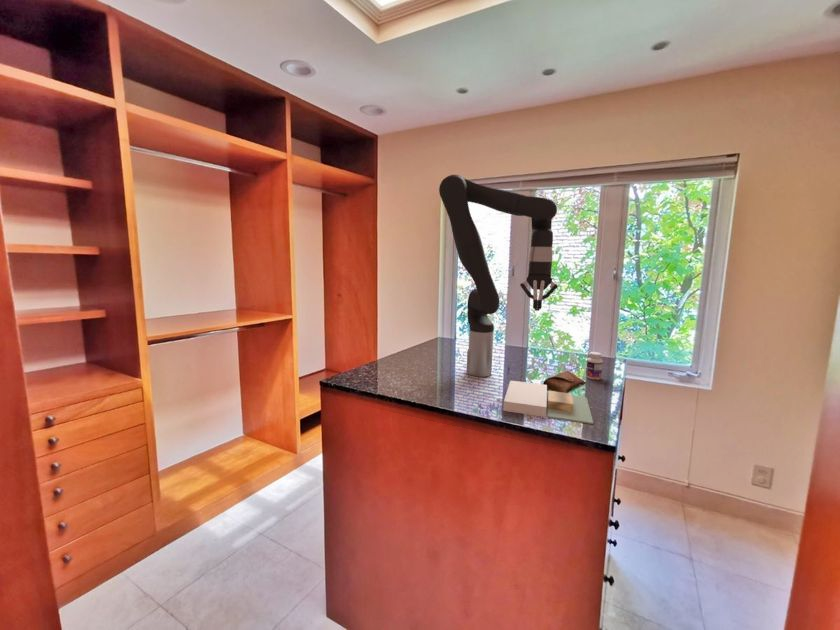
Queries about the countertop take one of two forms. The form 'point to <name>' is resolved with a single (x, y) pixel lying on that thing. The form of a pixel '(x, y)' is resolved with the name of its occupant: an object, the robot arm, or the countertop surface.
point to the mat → (574, 411)
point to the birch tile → (560, 401)
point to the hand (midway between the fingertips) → (537, 310)
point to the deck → (526, 398)
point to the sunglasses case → (563, 382)
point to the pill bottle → (594, 366)
